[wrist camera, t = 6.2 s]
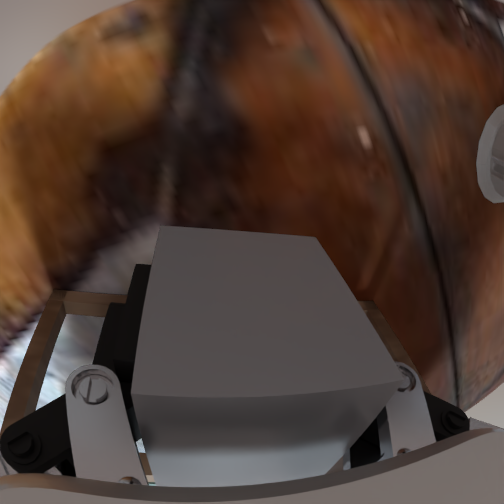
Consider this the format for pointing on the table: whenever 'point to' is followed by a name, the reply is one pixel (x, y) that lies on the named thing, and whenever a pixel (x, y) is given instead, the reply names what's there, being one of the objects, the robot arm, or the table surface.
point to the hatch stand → (97, 305)
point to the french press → (492, 157)
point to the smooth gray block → (252, 360)
